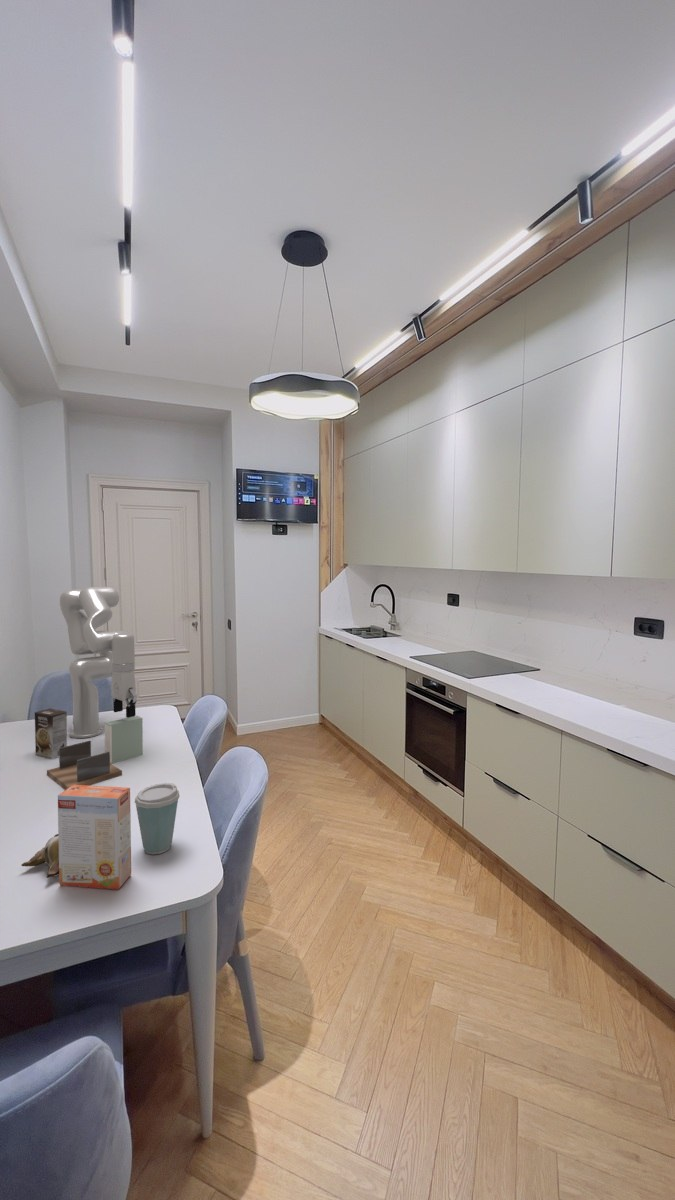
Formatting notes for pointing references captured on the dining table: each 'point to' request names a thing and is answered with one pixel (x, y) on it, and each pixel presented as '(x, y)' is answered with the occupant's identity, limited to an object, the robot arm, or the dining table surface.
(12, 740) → the dining table surface
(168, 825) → the disposable coffee cup
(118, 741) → the book
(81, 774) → the bookshelf board
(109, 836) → the cracker box
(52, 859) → the ceramic sculpture
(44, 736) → the coffee box
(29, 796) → the dining table surface
